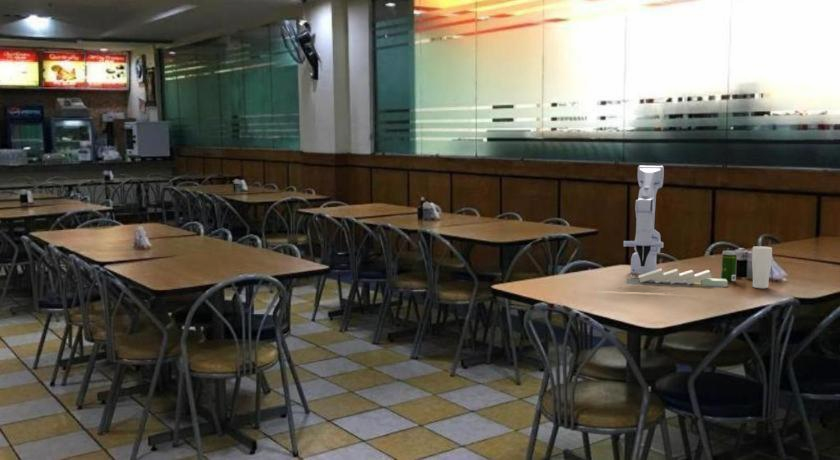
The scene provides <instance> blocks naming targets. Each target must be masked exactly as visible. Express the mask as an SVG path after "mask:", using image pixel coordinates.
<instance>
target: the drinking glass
mask: <svg viewBox="0 0 840 460" xmlns="http://www.w3.org/2000/svg"><path fill="white" fill-rule="evenodd" d="M772 260H773V247H770V246H760V245H759V246H755V245H754V246H752V253H751V265H752V266H751V267H752V287H754V288H756V289H767V288H768V287H769V280H770V274H771V267H772Z"/></svg>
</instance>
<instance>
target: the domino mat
mask: <svg viewBox="0 0 840 460" xmlns="http://www.w3.org/2000/svg"><path fill="white" fill-rule="evenodd" d="M626 282H627V283H626V284H627V285H643V286H668V287H669V286H670V287H689V288H690V287H692V288H693V287H694V288H713V289H714V288H715V289H722V288H723V286H703V285H701V284H700V281H698V282H695V283H692V284H689V285H688V284H687V282H686V280H683V281H680V282H676V283H673V284H671V283H670V280H669V279H668V280H665V281H662V282H659V283H656V282H655V280H654V279H651V280H648V281H645V282H641V283H640V280H639V278H626Z"/></svg>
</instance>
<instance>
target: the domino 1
mask: <svg viewBox="0 0 840 460" xmlns="http://www.w3.org/2000/svg"><path fill="white" fill-rule="evenodd" d="M663 273H664V272H663V269H662V267H660V268H658V269H657V268H656V270H654V271H651V272H648V273H645V274H642V275H641V274H638V276H637V277H638V279H639V280H640V283H641V282H645V281H648V280H654V278H657V277H660V276H663V275H664V274H663Z"/></svg>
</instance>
